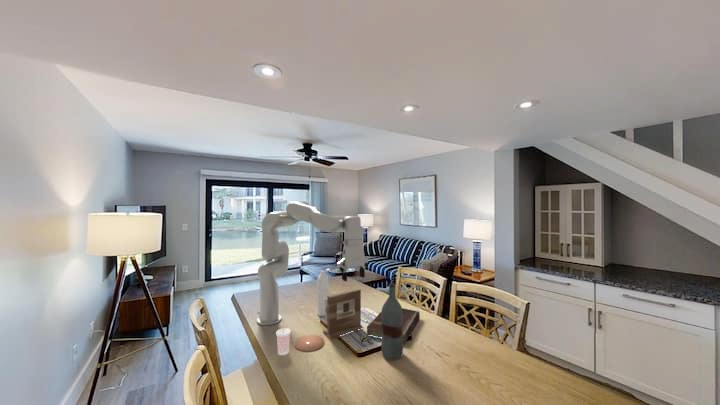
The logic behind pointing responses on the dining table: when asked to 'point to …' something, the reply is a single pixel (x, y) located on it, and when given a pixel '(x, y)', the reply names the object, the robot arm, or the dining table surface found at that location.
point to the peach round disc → (309, 343)
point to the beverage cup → (283, 340)
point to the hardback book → (407, 326)
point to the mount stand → (342, 313)
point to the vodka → (392, 326)
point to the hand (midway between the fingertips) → (353, 278)
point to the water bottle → (322, 292)
